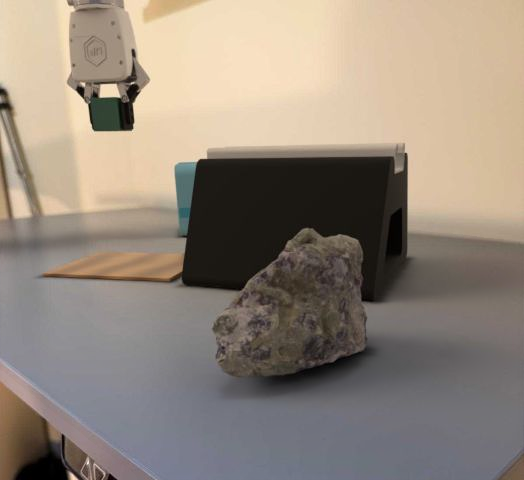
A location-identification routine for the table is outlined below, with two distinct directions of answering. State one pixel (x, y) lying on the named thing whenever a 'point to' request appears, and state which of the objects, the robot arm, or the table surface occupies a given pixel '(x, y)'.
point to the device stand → (296, 208)
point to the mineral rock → (296, 310)
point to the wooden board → (123, 266)
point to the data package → (184, 192)
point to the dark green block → (106, 114)
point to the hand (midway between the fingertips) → (113, 128)
